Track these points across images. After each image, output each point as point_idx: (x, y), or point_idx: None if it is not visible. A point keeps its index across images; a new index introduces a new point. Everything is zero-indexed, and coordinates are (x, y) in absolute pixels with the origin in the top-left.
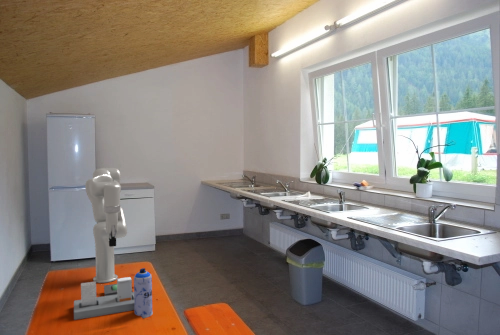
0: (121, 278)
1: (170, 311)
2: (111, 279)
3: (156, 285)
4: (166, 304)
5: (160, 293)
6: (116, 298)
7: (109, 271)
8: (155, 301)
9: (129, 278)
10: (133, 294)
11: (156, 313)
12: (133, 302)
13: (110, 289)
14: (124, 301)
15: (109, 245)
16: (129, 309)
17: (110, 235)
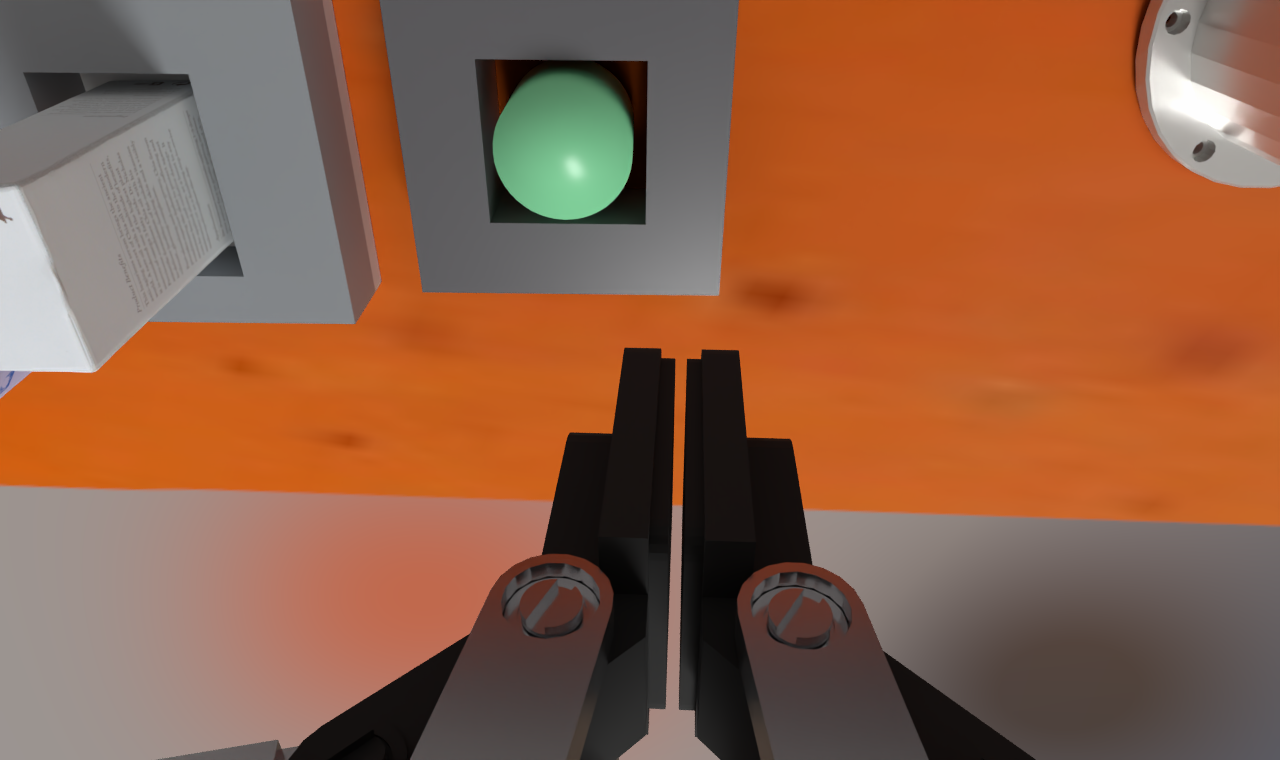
0: (20, 251)
1: (44, 477)
2: (1154, 98)
3: None
4: (203, 479)
5: (481, 485)
6: (196, 87)
7: (1259, 103)
8: (293, 420)
9: (11, 353)
10: (263, 284)
11: None
12: None
13: (528, 44)
14: None
15: (625, 364)
16: None
17: (441, 730)
